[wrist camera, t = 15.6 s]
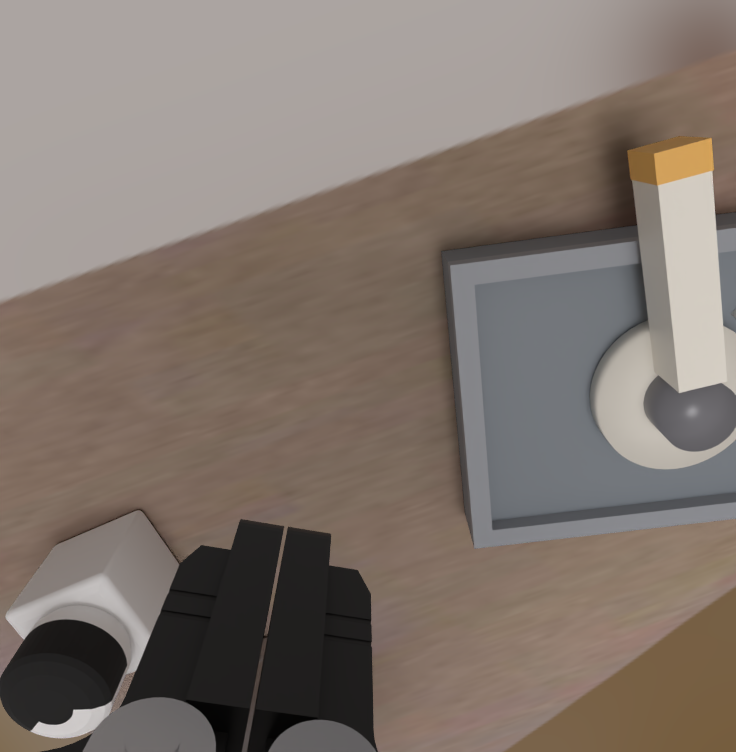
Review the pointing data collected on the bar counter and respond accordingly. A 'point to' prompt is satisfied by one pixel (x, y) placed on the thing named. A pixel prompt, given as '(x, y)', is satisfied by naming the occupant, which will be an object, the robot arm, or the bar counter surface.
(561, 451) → the grey tray
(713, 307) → the white lever with disc
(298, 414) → the bar counter surface
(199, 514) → the bar counter surface
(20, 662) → the medicine bottle
